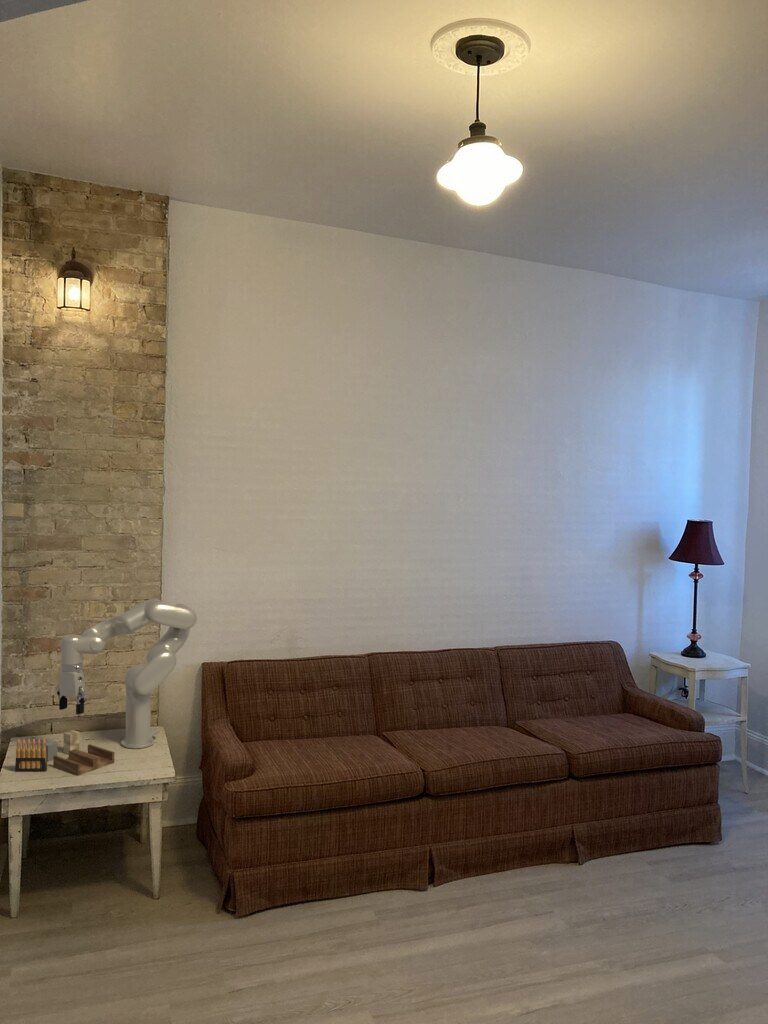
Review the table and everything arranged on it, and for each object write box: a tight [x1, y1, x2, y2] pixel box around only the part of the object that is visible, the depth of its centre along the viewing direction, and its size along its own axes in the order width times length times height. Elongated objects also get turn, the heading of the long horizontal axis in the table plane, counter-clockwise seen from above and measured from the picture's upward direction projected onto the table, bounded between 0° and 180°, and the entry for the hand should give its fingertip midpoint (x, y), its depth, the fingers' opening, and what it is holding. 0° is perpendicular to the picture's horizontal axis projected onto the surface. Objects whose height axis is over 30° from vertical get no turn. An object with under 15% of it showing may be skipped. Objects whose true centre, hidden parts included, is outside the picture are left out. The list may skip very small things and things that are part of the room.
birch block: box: [63, 729, 80, 756], centre depth 315 cm, size 4×4×8 cm
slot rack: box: [52, 744, 115, 777], centre depth 303 cm, size 16×14×4 cm
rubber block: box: [41, 740, 58, 763], centre depth 308 cm, size 4×4×6 cm
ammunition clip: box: [14, 737, 48, 773], centre depth 296 cm, size 11×2×12 cm, turn 96°
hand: (71, 711), depth 314 cm, fingers open, 9 cm apart
